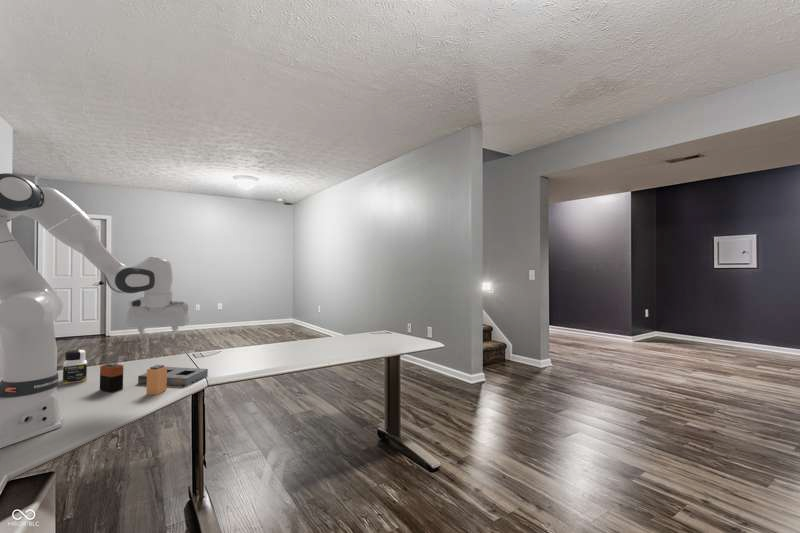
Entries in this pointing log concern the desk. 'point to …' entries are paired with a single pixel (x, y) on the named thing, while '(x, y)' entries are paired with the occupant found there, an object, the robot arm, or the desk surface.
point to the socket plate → (179, 375)
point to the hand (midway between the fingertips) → (158, 338)
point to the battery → (111, 377)
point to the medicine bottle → (74, 367)
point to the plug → (156, 379)
